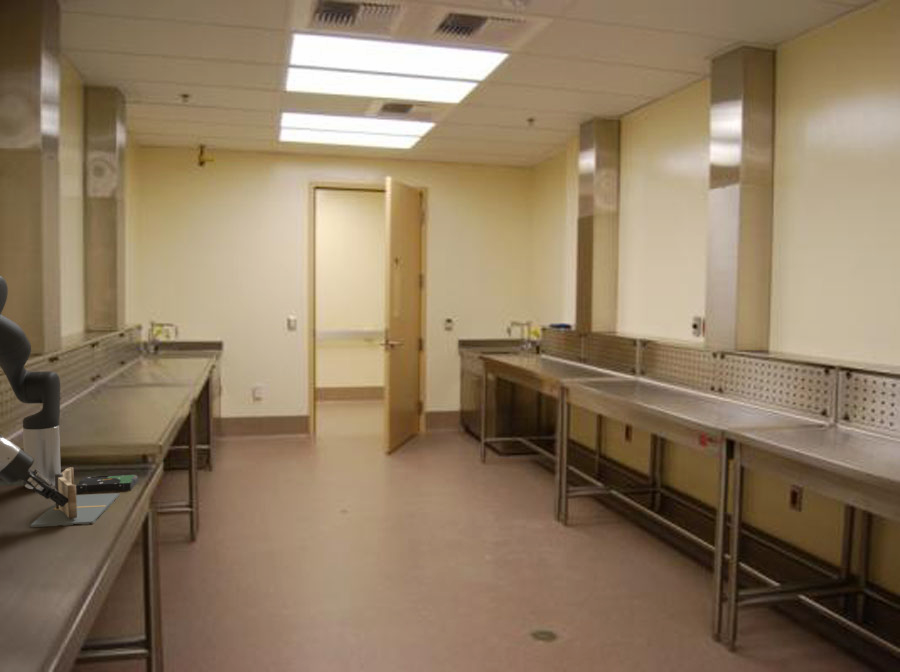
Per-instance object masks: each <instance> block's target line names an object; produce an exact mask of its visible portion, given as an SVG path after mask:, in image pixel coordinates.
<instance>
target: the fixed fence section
mask: <svg viewBox="0 0 900 672" xmlns="http://www.w3.org/2000/svg"><path fill="white" fill-rule="evenodd" d="M74 475H75V473H74V467H71V466H70V467H66V468H65V470H63V471H61V473H59V474H55V486H54V487H55V488H56V489H57V491H58V478H59V477H64V478H65V479H66V480H68V481H69V482H70V483H72V484H73V485H75V477H74ZM55 504H56V509H59V505H58V504H57V503H55Z"/></svg>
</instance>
